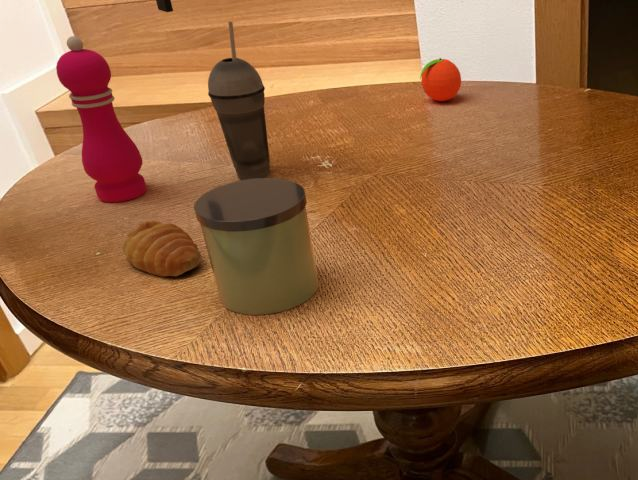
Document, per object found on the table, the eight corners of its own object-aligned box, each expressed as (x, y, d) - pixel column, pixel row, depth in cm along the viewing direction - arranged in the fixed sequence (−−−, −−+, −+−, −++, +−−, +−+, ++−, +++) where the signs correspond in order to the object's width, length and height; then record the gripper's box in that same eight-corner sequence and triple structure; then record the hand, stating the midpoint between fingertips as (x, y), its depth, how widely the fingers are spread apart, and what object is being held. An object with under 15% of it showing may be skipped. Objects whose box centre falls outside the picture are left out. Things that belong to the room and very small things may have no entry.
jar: (201, 288, 76) (176, 198, 70) (289, 256, 81) (272, 169, 76) (246, 328, 69) (223, 232, 64) (339, 289, 75) (325, 197, 69)
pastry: (219, 263, 80) (211, 232, 78) (164, 288, 76) (153, 256, 74) (174, 241, 86) (164, 210, 84) (120, 263, 82) (109, 232, 80)
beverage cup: (246, 163, 106) (214, 15, 95) (290, 167, 104) (263, 16, 93) (217, 182, 101) (179, 26, 89) (262, 186, 99) (230, 28, 87)
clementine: (434, 110, 124) (431, 66, 120) (410, 102, 128) (406, 60, 124) (470, 100, 128) (468, 57, 124) (445, 92, 132) (443, 51, 128)
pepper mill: (83, 203, 96) (26, 43, 85) (113, 182, 102) (64, 30, 91) (132, 205, 95) (81, 43, 84) (160, 184, 101) (116, 29, 90)
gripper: (61, -218, 69) (129, 22, 81) (292, -219, 82) (322, -11, 94) (39, -211, 74) (107, 14, 86) (261, -213, 87) (293, -16, 99)
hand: (219, 2), depth 90 cm, fingers open, 13 cm apart
